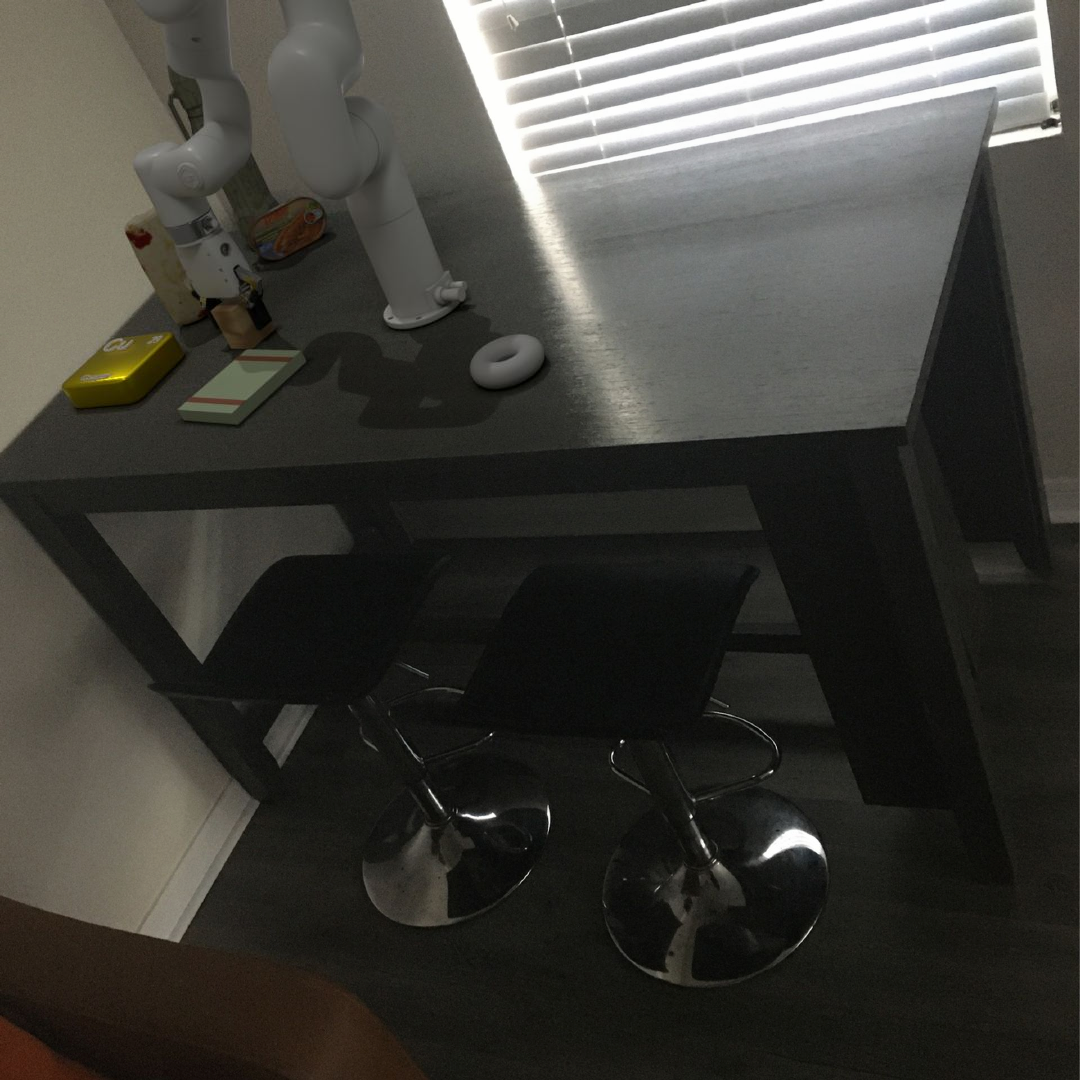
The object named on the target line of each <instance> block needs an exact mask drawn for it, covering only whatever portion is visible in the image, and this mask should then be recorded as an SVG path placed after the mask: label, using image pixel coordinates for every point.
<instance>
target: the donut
mask: <svg viewBox="0 0 1080 1080" xmlns="http://www.w3.org/2000/svg"><path fill="white" fill-rule="evenodd" d="M544 361H545V348H544V345H543V344H542V343H541V342H540V340H539V339H538V338H536V337H534V336H531V335H529V334H525V333H524V334H523V333H516V334H508V335H505V336H501V337H499V338H498V337H497V338H496V339H494V340H492V341H490V342H488V343H486V344H485V345H484V346H482V347H481V348H480V349H478V350H477V351H476V352H475V354H474V355H473V357H472V359H471V361H470V364H469V373H470V376H471V378H472V379H473V381H474V382H475V383H476V384H477V385H478V386H480V387H483V388H485V389H492V390H501V389H507V388H510V387H514V386H516V385H519V384H521V383H523V382H525V381H526V380H529V379H530V378H532V377H533V376H534V375H535V374H536V373H537V372H538V371H539V370H540V368H541V367H542V365H543V364H544Z"/></svg>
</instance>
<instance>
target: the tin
mask: <svg viewBox="0 0 1080 1080" xmlns="http://www.w3.org/2000/svg"><path fill="white" fill-rule="evenodd" d="M327 224H328V216H327V213H326V210H325V208H324V207H323V205H322V204H321V203H320V202H319V201H318V200H316V199H315V198H313V197H310V196H303V195H299V196H294V197H292V198H290V199H288V200H286V201H284V202H282V203H280V204H279V206H277V207H275V208H273V209H271V210H269V211H267V212H265V213H263V214H261V215H259V216H258V217H256V218H255V219H254V220H253V222H252V223H251V225H250V228H249V241H250V244H251V246H252V247H253V248H252V249H253V250H254V251H255V252H256V253H257V254H258V255H259V256H260V257H262V258H263V259H266V260H268V261H269V260H270V261H279V260H282V259H284V258H286V257H288V256H290V255H291V254H293V253H295V252H297V251H299V250H302V249H303V248H305V247H306V246H309V245H310V244H313V243H314V242H316V241H318V240H319V239H320V238H321V237H322V236H323V235H324V233H325V231H326V229H327Z"/></svg>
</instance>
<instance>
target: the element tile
mask: <svg viewBox="0 0 1080 1080" xmlns="http://www.w3.org/2000/svg"><path fill="white" fill-rule="evenodd" d="M184 356H185V352H184V350H183V348H182V346H181V345H180V343H179V342H178V340H177V338H176V336H175V334H174V333H173V332H172V331H165V332H157V333H156V332H155V333H149V334H141V335H140V334H139V335H135V336H134V335H132V336H125V337H119V338H118V337H117V338H113V339H111V340H109V341H108V342H106V344H104V345H103V346H102V347H101V348H100V349H99V350H97V351H96V352H95V353H94V354H93V355H92V356H91V357H90V358H89V359H88V360H86V361H85V363H83V364H82V365H81V366H80V367H79V368H77V370H76V371H74V372H73V373H72V374H71V375H70V376H69V377H68V378H67V379H66V380H65V381H63V383H62V384H61V389H62V391H63V392H64V394H65V395H66V396H67V398H68V400H69V401H70V402H71V404H72V405H73V406H74V408H76V409H90V408H91V409H93V408H101V407H115V406H125V405H132V404H135V403H137V402H139V401H141V400H142V399H144V398H145V397H146V396H147V395H148V394H149V393H150V392H151V391H152V390H153V389H154V388H155V387H156V386H157V385H158V383H160V382H161V381H162V380H163V379H164V378H165V377H166V376H167V375H168V374H169V373H170V372H171V371H172V370H173V369H174V368H175V367H176V366H177V365H178V364H179V363H180V362H181V361H182V360H183V359H184Z"/></svg>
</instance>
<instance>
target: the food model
mask: <svg viewBox="0 0 1080 1080" xmlns="http://www.w3.org/2000/svg"><path fill="white" fill-rule="evenodd" d="M124 234H125V236H126V238H127V240H128V242H129V244H130V246H131V248H132V251H133V252H134V255H135V258H136V259H137V261H138V263H139V265H140V267H141V268H142V271H143V272H144V274H145V276H146V277H147V279H148V281H149V282H150V283H151V286H152V287H153V289H154V291H155V293H156V295H157V296H158V298H159V300H160V301H161V303H162V304H163V306H164V308H165V309H166V310H167V312H168V313H169V315H170V317H171V319H172V321H173V322H174V324H176V325H177V326H182V325H184V326H185V325H189V324H192V323H194V322H196V321H199V320H201V319H203V318H204V317H207V316H209V315H208V314H207V312H206V310H205V308H206V307H205V308H203V307H202V306H201V305H200V301H198V300H197V299H196V298H195V297H193V296H192V294H191V292H190V291H189V290H188V289H187V287H186V286H185V285H184V284H183V280H184V279H185V278H186V276H187V275H186V273H185V270H184V268H183V266H182V264H181V261H180V259H179V257H178V254H177V251H176V249H175V245H174V243H173V241H172V239H171V238H170V236H169V234H168V232H167V230H166V228H165V226H164V224H163V223H162V221H161V219H160V217H159V215H158V213H157V211H156V209H155V208H154V207H152V208H150V209H148V210H146V211H145V212H143V213H141V214H137V215H134V216H133V217H132V218H131V219H130V220H128V221H127V222H126V224H125V225H124ZM217 299H218V298H216V300H217Z"/></svg>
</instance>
